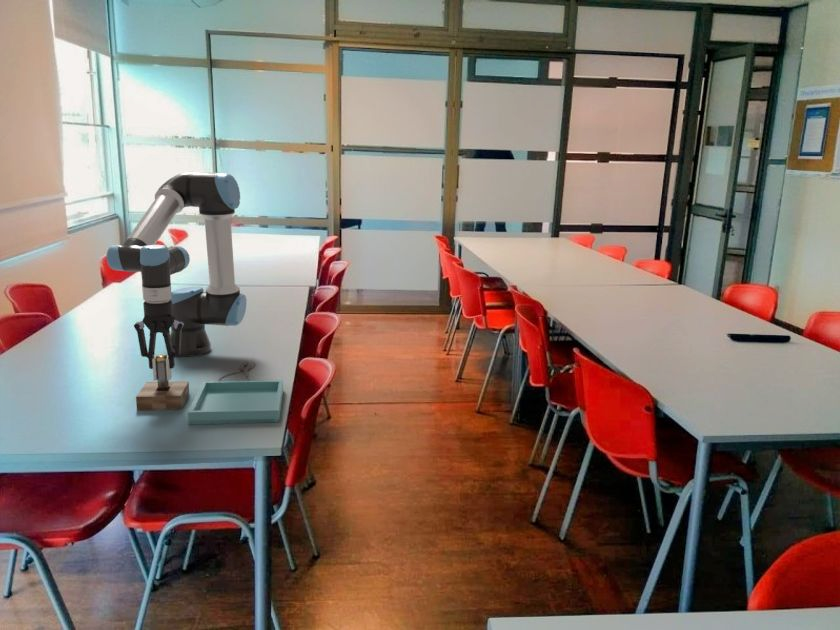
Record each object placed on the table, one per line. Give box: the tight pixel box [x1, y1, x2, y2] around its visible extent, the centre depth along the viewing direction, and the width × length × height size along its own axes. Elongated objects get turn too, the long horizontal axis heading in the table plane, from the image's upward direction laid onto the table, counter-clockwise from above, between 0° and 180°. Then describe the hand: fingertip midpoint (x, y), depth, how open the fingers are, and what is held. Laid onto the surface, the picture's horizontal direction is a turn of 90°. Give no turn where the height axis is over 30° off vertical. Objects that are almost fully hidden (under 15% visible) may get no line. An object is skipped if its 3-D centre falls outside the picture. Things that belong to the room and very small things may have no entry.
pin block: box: [135, 380, 190, 411], centre depth 189 cm, size 12×12×4 cm
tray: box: [187, 379, 284, 425], centre depth 187 cm, size 24×24×4 cm
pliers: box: [217, 362, 256, 381], centre depth 215 cm, size 10×1×20 cm
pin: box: [155, 354, 170, 391], centre depth 187 cm, size 3×3×13 cm
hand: (162, 378), depth 187 cm, fingers closed on pin, 3 cm apart
